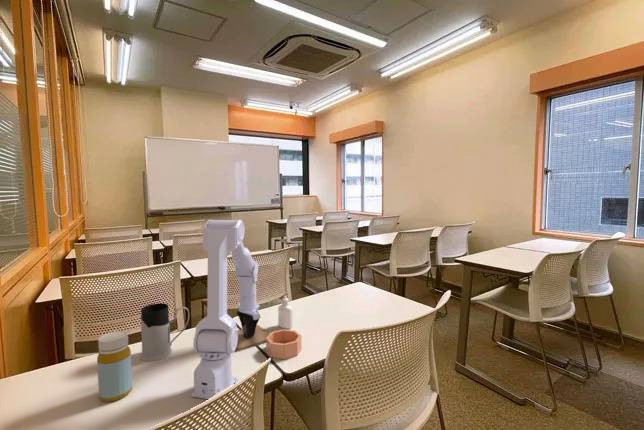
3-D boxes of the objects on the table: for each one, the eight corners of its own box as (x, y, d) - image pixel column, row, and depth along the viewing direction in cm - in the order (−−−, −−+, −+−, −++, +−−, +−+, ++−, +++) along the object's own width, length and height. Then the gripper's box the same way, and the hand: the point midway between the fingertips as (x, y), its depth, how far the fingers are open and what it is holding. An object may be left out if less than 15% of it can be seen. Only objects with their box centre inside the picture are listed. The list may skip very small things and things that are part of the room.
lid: (237, 351, 101) (237, 337, 101) (223, 337, 111) (223, 324, 111) (274, 340, 109) (274, 327, 108) (257, 327, 119) (257, 315, 119)
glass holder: (141, 351, 101) (139, 305, 100) (189, 341, 108) (187, 298, 107) (140, 364, 94) (138, 314, 92) (191, 352, 100) (190, 306, 99)
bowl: (294, 360, 95) (293, 346, 95) (262, 356, 98) (261, 342, 97) (304, 344, 105) (304, 331, 105) (275, 341, 108) (275, 328, 107)
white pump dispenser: (282, 330, 116) (282, 298, 115) (277, 325, 121) (277, 294, 120) (293, 328, 118) (293, 296, 117) (288, 323, 123) (287, 292, 122)
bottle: (137, 385, 83) (135, 329, 82) (122, 402, 76) (119, 342, 75) (110, 385, 83) (108, 330, 82) (92, 403, 76) (89, 343, 75)
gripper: (267, 298, 105) (268, 337, 106) (250, 287, 117) (251, 323, 118) (247, 302, 101) (248, 343, 102) (231, 291, 113) (232, 328, 114)
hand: (248, 333), depth 110 cm, fingers closed on lid, 4 cm apart
